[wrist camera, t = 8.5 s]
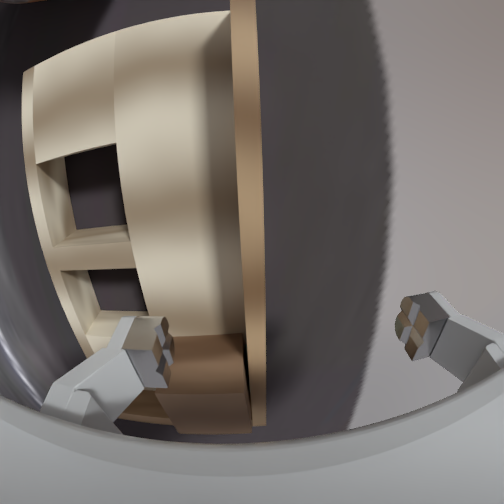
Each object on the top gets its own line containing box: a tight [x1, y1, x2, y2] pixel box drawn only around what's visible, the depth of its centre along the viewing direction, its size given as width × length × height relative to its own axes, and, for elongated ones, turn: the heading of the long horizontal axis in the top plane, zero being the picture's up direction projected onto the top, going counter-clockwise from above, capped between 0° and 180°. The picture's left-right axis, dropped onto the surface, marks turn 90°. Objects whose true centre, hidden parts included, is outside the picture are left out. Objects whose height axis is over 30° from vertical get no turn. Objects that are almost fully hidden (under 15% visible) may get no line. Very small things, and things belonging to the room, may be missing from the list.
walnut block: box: [155, 333, 252, 434], centre depth 14 cm, size 4×4×4 cm
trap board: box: [22, 0, 266, 426], centre depth 13 cm, size 24×13×6 cm, turn 2°
